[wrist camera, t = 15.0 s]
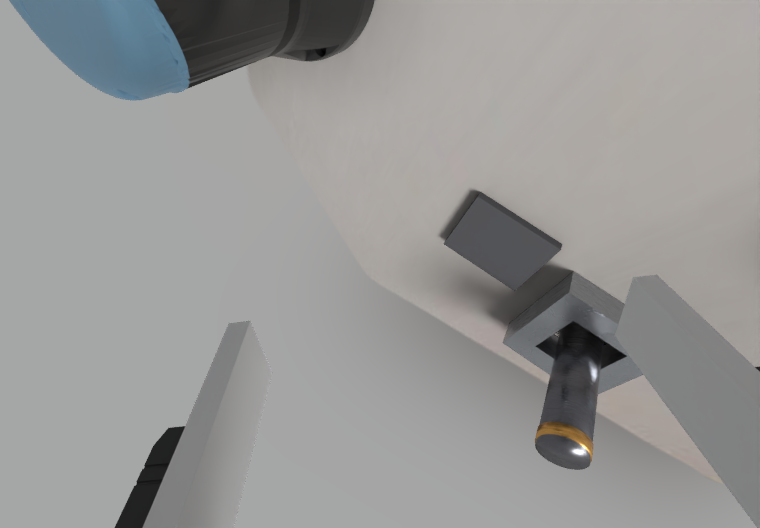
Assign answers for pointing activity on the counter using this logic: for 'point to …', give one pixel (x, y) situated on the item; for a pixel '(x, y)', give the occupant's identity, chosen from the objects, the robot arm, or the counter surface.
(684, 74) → the counter surface
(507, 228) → the mount
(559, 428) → the cylinder
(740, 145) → the counter surface
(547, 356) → the socket
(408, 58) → the counter surface
